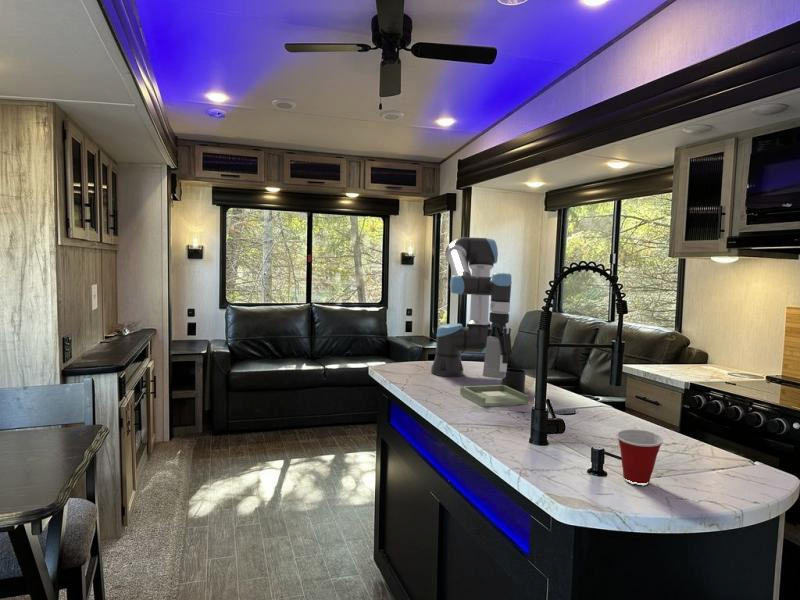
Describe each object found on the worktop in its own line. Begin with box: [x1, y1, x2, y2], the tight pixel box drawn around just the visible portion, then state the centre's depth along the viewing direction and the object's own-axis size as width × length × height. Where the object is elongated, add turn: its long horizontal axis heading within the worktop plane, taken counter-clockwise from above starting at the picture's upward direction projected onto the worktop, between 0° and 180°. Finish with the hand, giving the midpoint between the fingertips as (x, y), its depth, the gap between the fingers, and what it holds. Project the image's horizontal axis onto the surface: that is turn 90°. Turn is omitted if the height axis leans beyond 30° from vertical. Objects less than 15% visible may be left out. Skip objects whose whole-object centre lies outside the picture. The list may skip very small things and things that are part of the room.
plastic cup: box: [615, 428, 664, 483], centre depth 134 cm, size 11×11×12 cm
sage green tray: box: [459, 384, 530, 408], centre depth 209 cm, size 18×20×3 cm
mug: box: [501, 367, 527, 394], centre depth 224 cm, size 9×12×9 cm
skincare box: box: [482, 336, 509, 380], centre depth 211 cm, size 8×7×16 cm
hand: (495, 368), depth 212 cm, fingers closed on skincare box, 10 cm apart
